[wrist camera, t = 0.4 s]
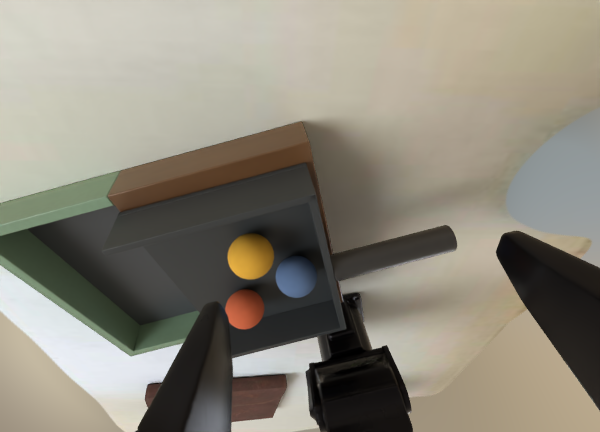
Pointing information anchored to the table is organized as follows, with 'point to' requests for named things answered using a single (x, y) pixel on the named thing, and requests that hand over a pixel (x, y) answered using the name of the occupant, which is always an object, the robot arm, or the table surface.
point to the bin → (92, 267)
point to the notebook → (247, 396)
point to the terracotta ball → (244, 309)
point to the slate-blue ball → (296, 276)
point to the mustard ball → (250, 256)
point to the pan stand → (218, 169)
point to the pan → (284, 240)
